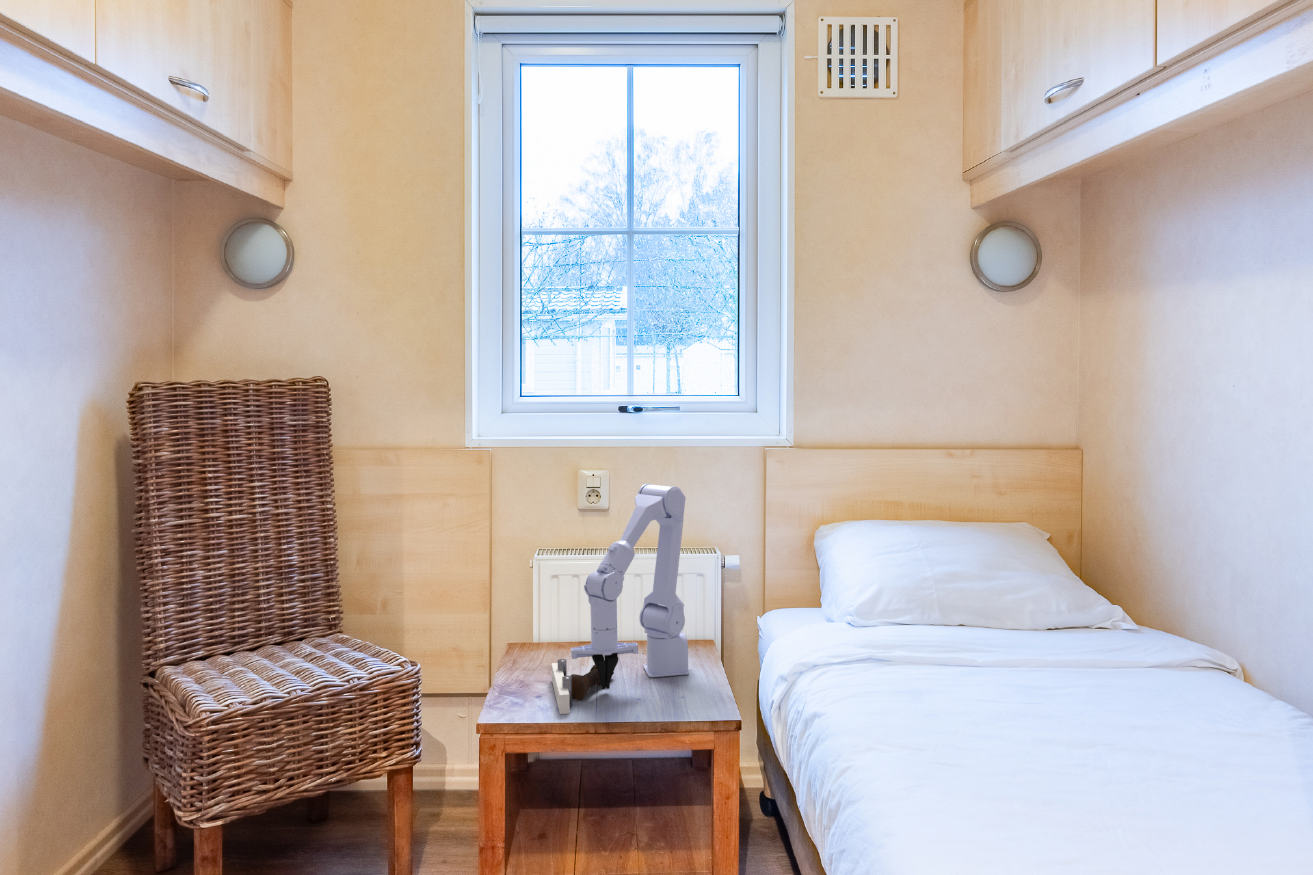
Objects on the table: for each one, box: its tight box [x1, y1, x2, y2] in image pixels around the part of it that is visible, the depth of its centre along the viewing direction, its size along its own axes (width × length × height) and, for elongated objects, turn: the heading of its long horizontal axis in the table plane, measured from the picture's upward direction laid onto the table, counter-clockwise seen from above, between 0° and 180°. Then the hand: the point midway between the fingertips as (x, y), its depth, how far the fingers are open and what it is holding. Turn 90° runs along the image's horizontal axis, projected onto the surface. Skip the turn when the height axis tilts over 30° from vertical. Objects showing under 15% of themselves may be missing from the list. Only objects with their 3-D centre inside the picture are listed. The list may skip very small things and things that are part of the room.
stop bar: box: [551, 658, 573, 715], centre depth 178 cm, size 3×20×6 cm, turn 12°
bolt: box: [569, 664, 615, 701], centre depth 183 cm, size 6×5×15 cm
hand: (605, 687), depth 179 cm, fingers closed
